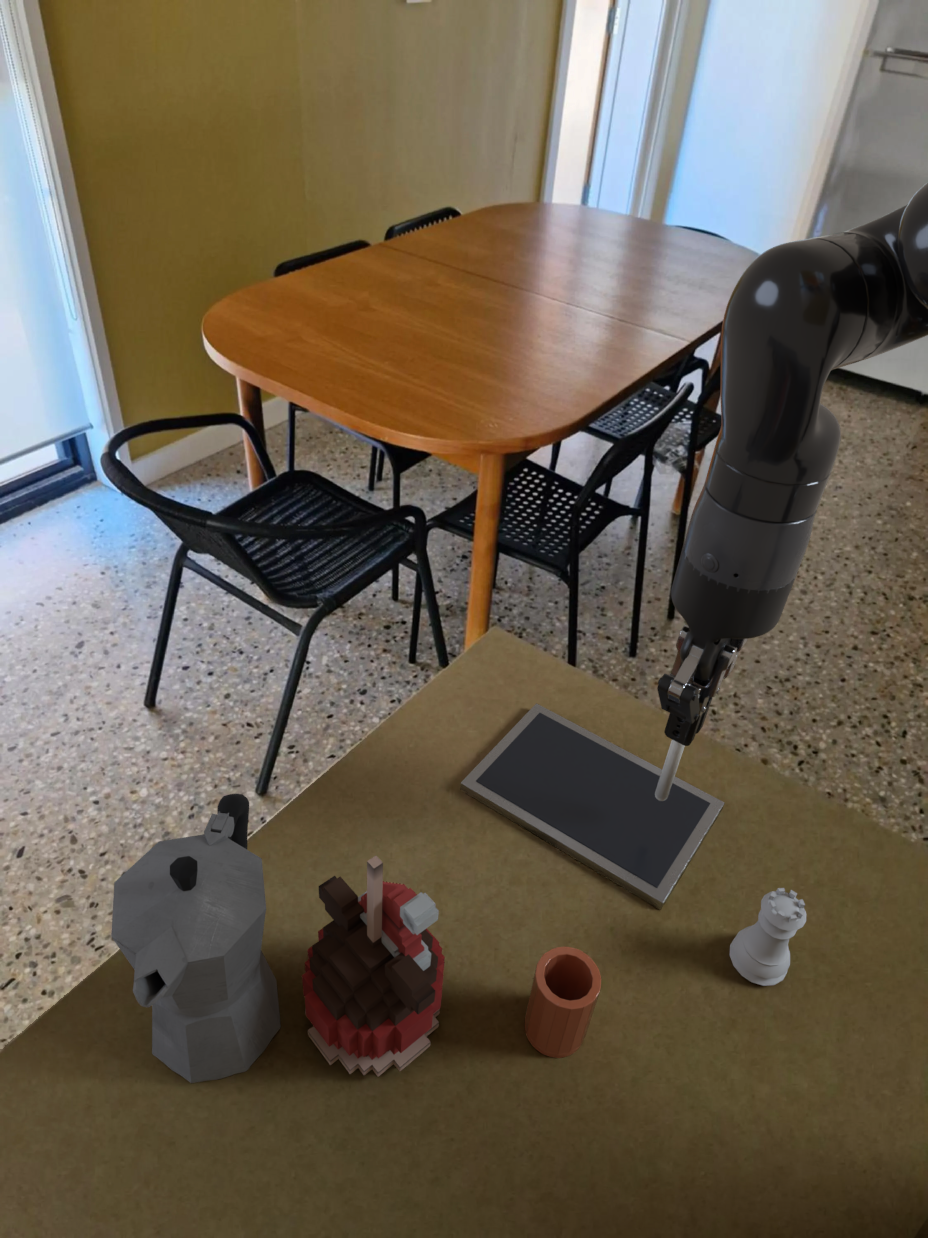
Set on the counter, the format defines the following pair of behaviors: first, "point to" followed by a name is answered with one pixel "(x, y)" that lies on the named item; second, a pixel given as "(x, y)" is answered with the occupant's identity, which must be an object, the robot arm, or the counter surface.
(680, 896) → the counter surface
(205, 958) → the coffeepot
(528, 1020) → the pen cup
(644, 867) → the tablet
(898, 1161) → the counter surface
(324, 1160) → the counter surface
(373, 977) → the cake
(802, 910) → the rook chess piece
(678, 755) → the stylus
